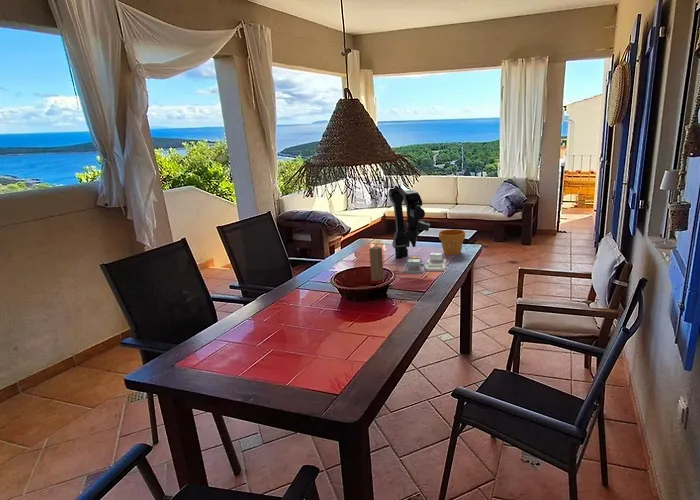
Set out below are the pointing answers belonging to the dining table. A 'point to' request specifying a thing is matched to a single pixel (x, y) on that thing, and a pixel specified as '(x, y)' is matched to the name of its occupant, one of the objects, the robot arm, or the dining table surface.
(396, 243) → the robot arm
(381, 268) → the wooden block
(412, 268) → the billet
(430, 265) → the white divided tray
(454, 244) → the flower pot
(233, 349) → the dining table surface
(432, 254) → the block
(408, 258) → the grey square frame
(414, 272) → the tray
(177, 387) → the dining table surface
